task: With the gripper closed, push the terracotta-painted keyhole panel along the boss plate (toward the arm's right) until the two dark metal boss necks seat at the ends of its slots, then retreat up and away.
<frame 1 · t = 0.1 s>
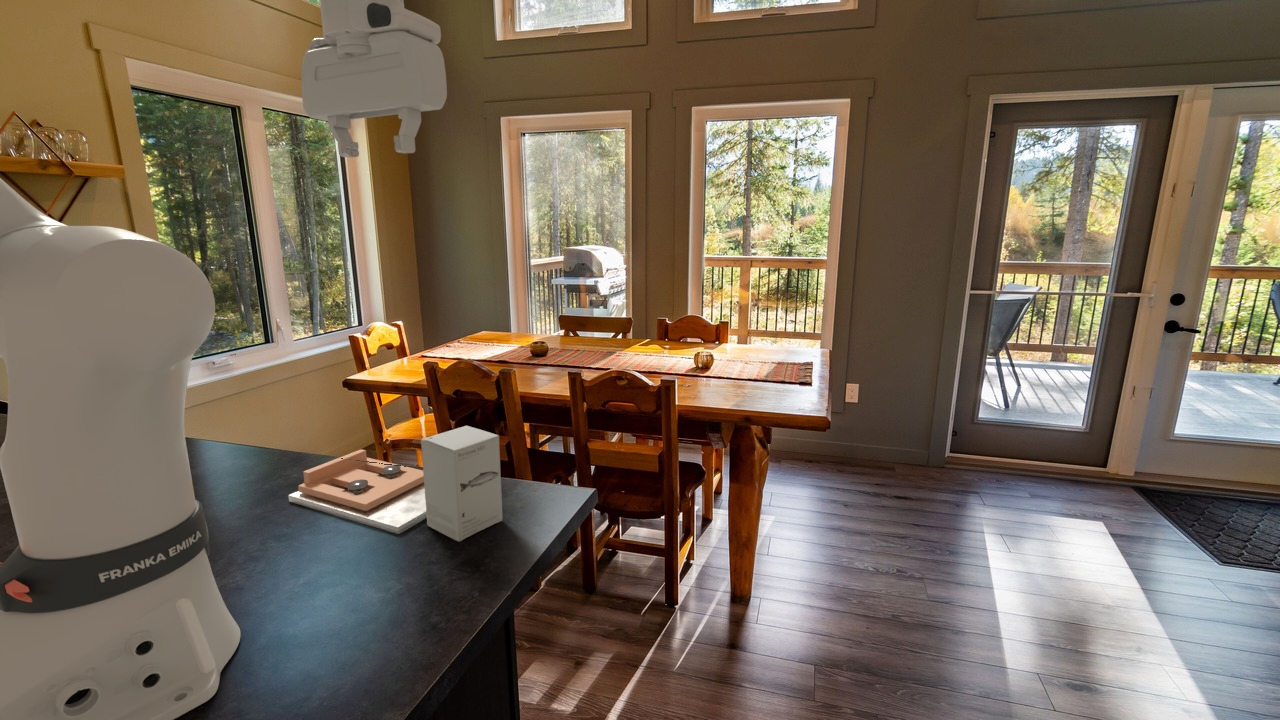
hand: (376, 154, 69), 48 cm above the kitchen island, fingers open, 8 cm apart
boss plate: (382, 496, 85), on the kitchen island
panel: (366, 476, 86), point 3 cm above the kitchen island, slide at 0.0 cm
supplement box: (465, 525, 78), on the kitchen island
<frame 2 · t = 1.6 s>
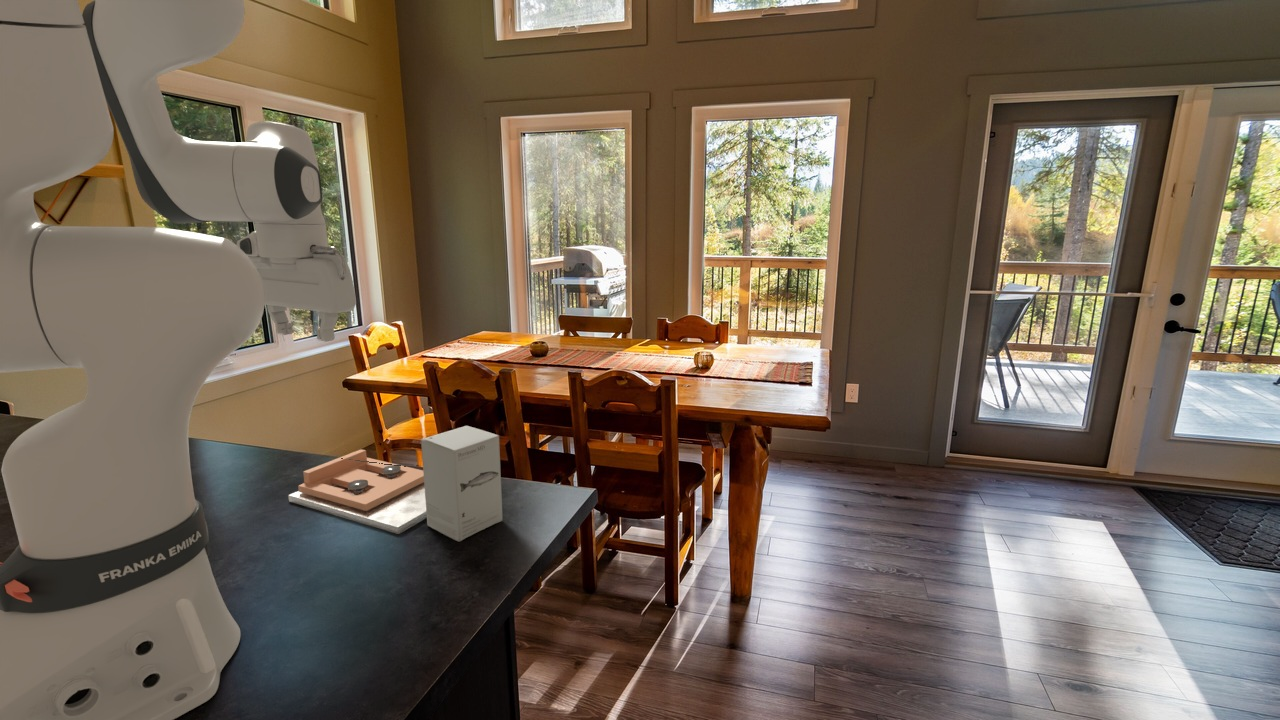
hand: (305, 337, 86), 23 cm above the kitchen island, fingers open, 8 cm apart
nothing on the kitchen island moved.
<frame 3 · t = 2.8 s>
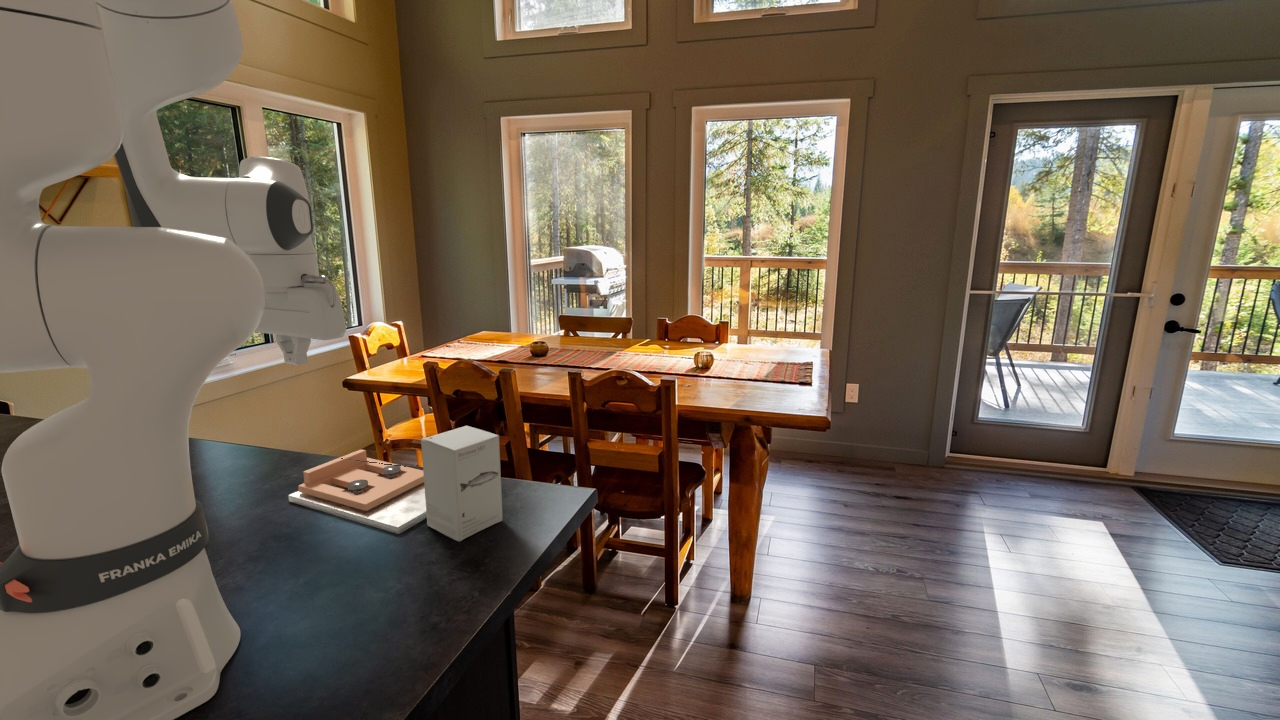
hand: (296, 363, 88), 19 cm above the kitchen island, fingers closed
nothing on the kitchen island moved.
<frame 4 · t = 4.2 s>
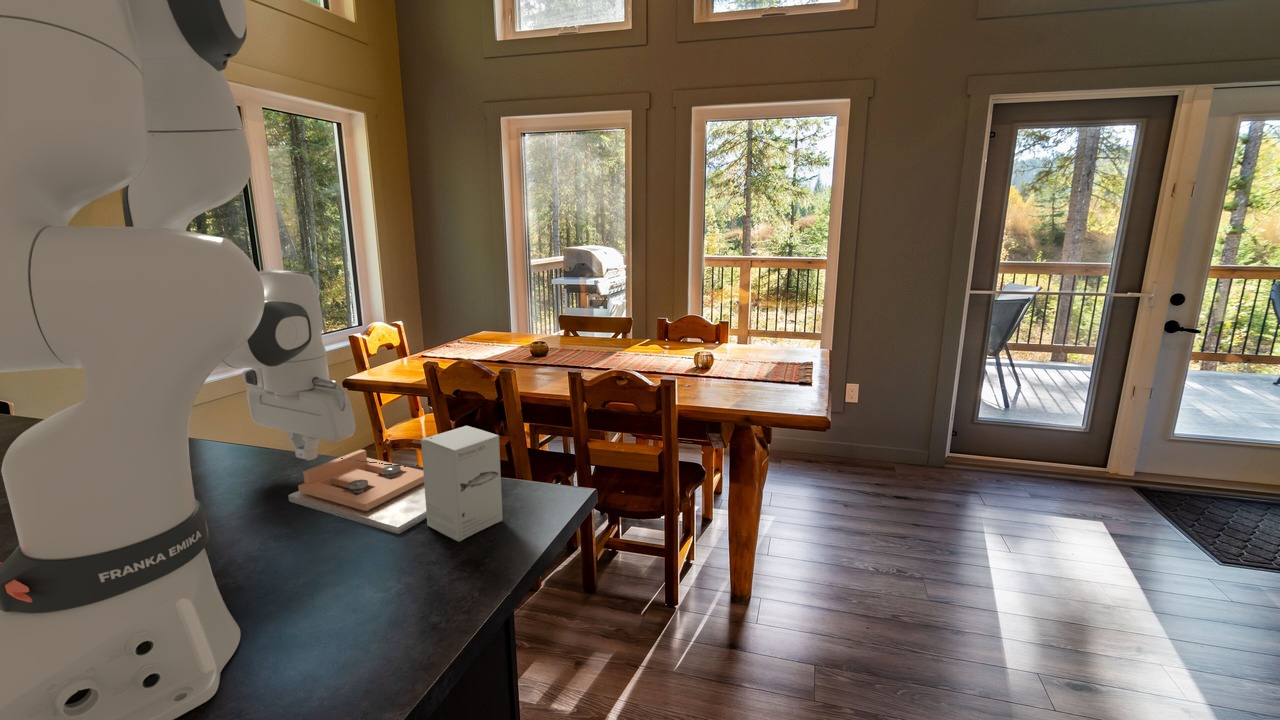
hand: (307, 457, 91), 3 cm above the kitchen island, fingers closed
nothing on the kitchen island moved.
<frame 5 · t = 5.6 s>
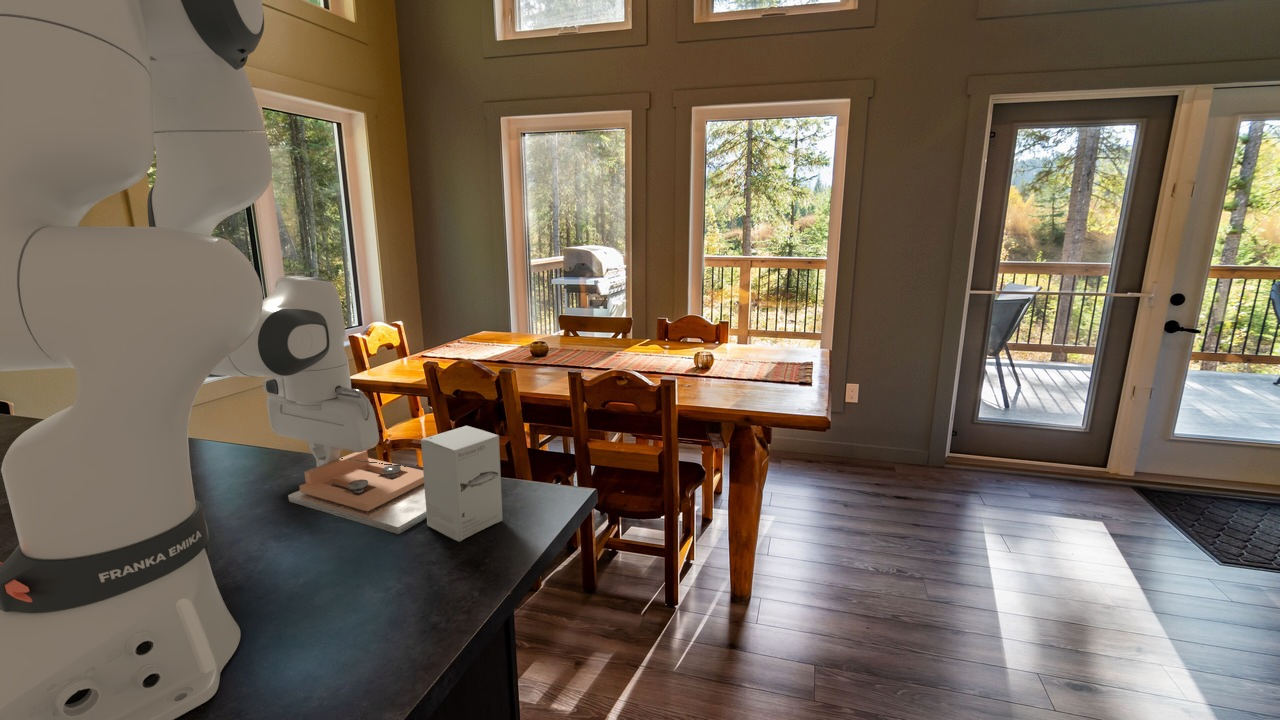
hand: (328, 468, 89), 3 cm above the kitchen island, fingers closed
panel: (367, 476, 86), point 3 cm above the kitchen island, slide at 0.3 cm, touching gripper
everything else where it was.
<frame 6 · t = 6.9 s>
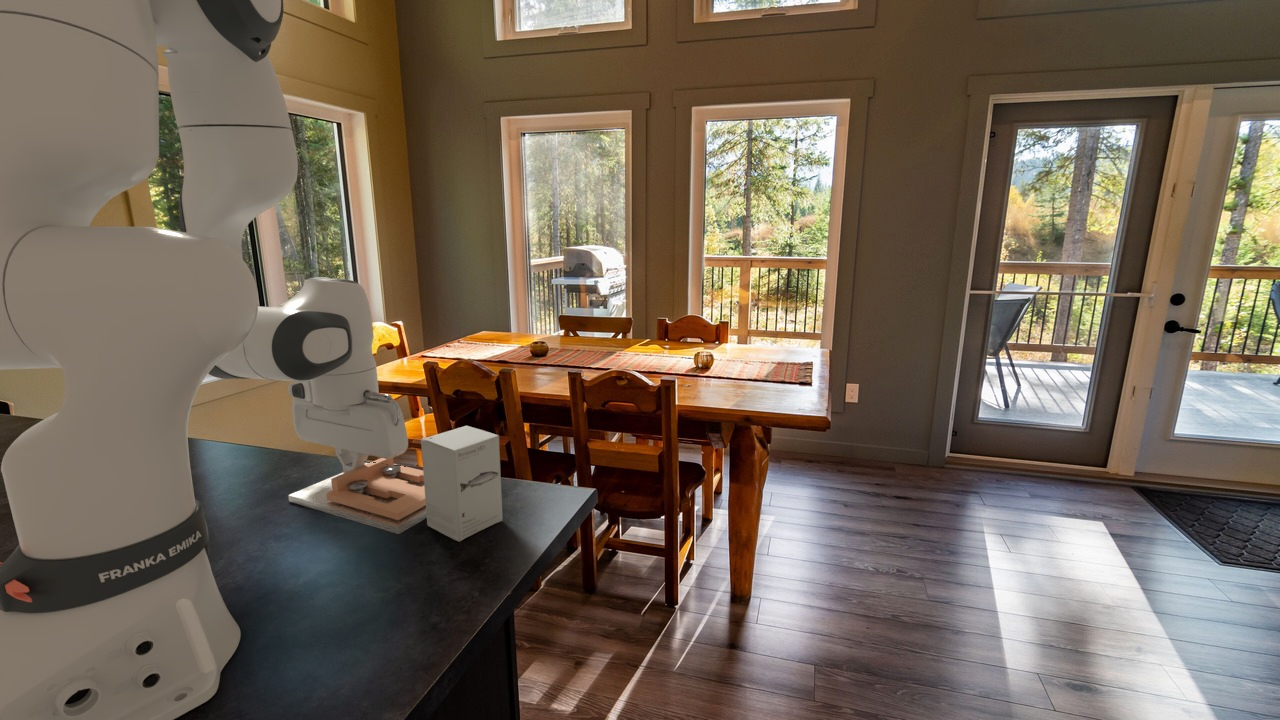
hand: (354, 474, 87), 3 cm above the kitchen island, fingers closed
panel: (395, 483, 84), point 3 cm above the kitchen island, slide at 6.1 cm, touching gripper
everything else where it was.
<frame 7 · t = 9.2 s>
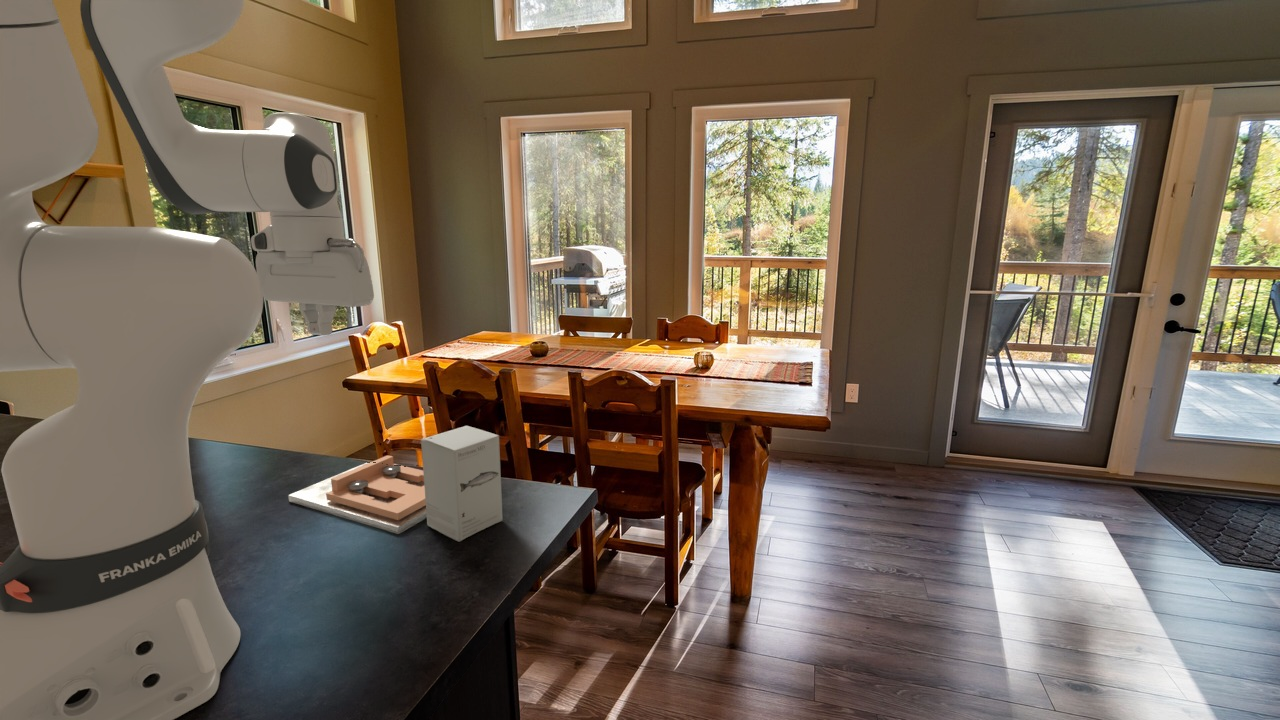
hand: (320, 334, 84), 24 cm above the kitchen island, fingers closed
panel: (395, 483, 84), point 3 cm above the kitchen island, slide at 6.0 cm
everything else where it was.
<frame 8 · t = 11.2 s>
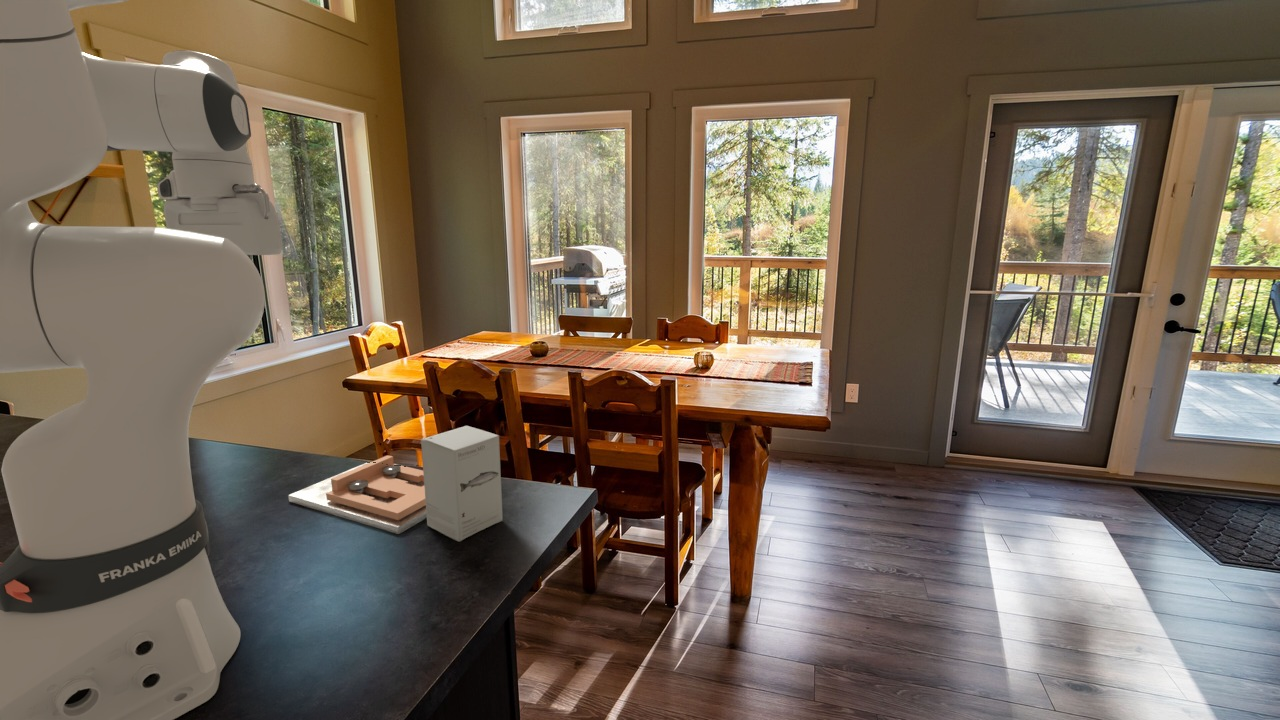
hand: (231, 286, 81), 31 cm above the kitchen island, fingers closed
nothing on the kitchen island moved.
at the end: panel slide at 6.0 cm; panel touching nothing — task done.
